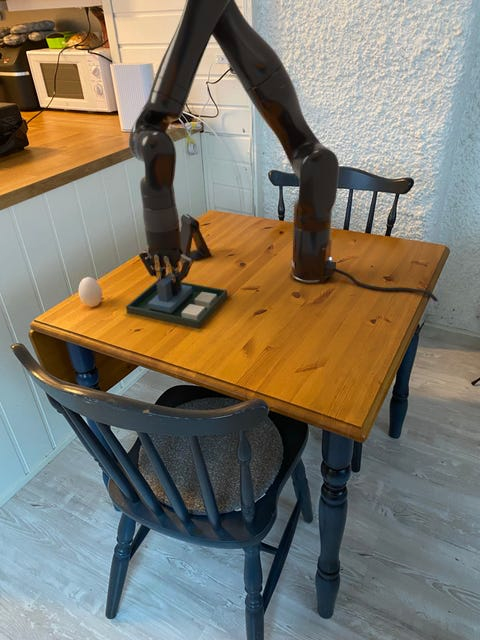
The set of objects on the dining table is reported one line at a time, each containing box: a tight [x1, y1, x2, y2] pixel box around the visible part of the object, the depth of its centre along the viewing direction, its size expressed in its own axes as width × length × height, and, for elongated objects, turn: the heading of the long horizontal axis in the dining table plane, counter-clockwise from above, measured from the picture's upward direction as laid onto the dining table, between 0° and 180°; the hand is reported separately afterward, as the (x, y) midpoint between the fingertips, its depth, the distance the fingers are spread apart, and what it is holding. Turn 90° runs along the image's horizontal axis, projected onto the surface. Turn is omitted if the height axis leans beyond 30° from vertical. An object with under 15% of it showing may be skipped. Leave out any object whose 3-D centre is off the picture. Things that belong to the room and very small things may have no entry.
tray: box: [125, 279, 229, 330], centre depth 112 cm, size 19×15×2 cm
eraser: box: [148, 272, 193, 315], centre depth 111 cm, size 6×10×7 cm, turn 157°
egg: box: [78, 276, 103, 308], centre depth 113 cm, size 5×5×8 cm
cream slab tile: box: [182, 304, 205, 320], centre depth 108 cm, size 4×4×2 cm
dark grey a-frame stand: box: [180, 213, 212, 262], centre depth 133 cm, size 9×6×12 cm, turn 120°
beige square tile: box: [194, 292, 217, 308], centre depth 112 cm, size 4×4×2 cm
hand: (170, 292), depth 112 cm, fingers closed on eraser, 2 cm apart
